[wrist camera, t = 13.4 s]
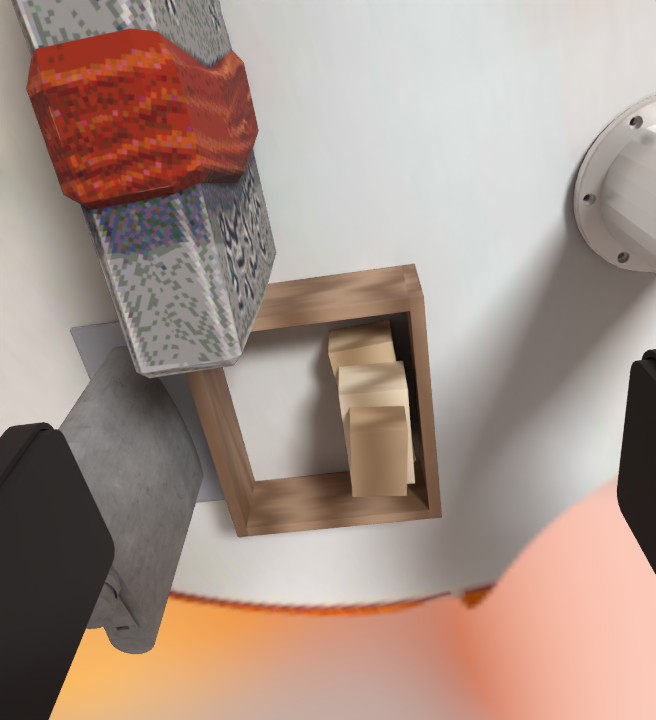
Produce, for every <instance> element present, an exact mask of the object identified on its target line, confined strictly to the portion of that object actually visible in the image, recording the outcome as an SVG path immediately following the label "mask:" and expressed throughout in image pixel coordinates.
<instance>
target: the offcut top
mask: <svg viewBox="0 0 656 720" xmlns="http://www.w3.org/2000/svg"><path fill="white" fill-rule="evenodd" d="M350 443H351V469H352V496H353V497H376V496H407V458H408V427H407V420H406V414H405V407H404V406H382V407H350Z"/></svg>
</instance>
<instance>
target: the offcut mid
mask: <svg viewBox="0 0 656 720" xmlns="http://www.w3.org/2000/svg"><path fill="white" fill-rule="evenodd" d="M339 401H340V408H341V415H342V422H343V428H344V435H345V442H346V449H347V456H348V462H349V469H350V476H351V483H352V469H351V443H350V407H382V406H404V407H405V414H406V420H407V427H408V458H407V484H410V483H415V477H414V464H413V451H412V438H411V426H410V413H409V400H408V388H407V382H406V376H405V370H404V365H403V361H394V362H384V363H375V364H365V365H355V366H345V367H339Z"/></svg>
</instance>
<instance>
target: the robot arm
mask: <svg viewBox="0 0 656 720" xmlns="http://www.w3.org/2000/svg"><path fill="white" fill-rule="evenodd" d="M633 117H634V122H633V123H632V124H630V125H629V123H630V121H631V119H632V118H633ZM587 194H588V197H587V198H586V199H584V200H583V198H584V197H585V196H586V195H587ZM573 203H574V213H575V219H576V222H577V225H578V228H579V231H580V233H581V235H582V236H583V238H584V240H585V241H586V243H587V244H588V245H589V246H590V247H591V248H592V249H593V250H594V252H595V253H597V254H598V255H599V256H600V257H602V258H603V259H604V260H606V261H607V262H609V263H611V264H613V265H615V266H617V267H619V268H623V269H628V270H632V271H643V272H654V273H656V95H655V96H652V97H649V98H647V99H645V100H643V101H642V102H640V103H638V104H636V105H634V106H632V107H631V108H629V109H628V110H626V111H625V112H624V113H623V114H621V115H620V116H619V117H617V118H616V119H615V120H613V122H612V123H611V124H610V125H609V126H608V127H607V128H606V129H605V130H604V131H603V132H602V133H601V134H600V135H599V137H598V138H597V139H596V141H595V142H594V144H593V145H592V147H591V148H590V149H589V151H588V153H587V155H586V157H585V159H584V161H583V163H582V165H581V167H580V170H579V173H578V177H577V180H576V184H575V190H574V200H573ZM620 253H621V255H619V254H620ZM618 255H619V256H618ZM617 499H618V503H619V507H620V510H621V512H622V514H623V516H624V518H625V520H626V522H627V523H628V525H629V527H630V529H631V531H632V532H633V534H634V536H635V538H636V539H637V542H638V543H639V545H640V547H641V549H642V551H643V552H644V554H645V556H646V558H647V559H648V562H649V563H650V565H651V567H652V569H653V571H654V572H655V574H656V349H653V350H648V351H646V352H645V353H644V355H643V357H642V360H639V361H635V362H633V364H632V366H631V370H630V379H629V388H628V396H627V405H626V414H625V423H624V432H623V440H622V449H621V458H620V467H619V475H618V485H617ZM114 555H115V547H114V542H113V539H112V536H111V534H110V532H109V530H108V528H107V526H106V524H105V522H104V519H103V517H102V515H101V513H100V511H99V509H98V507H97V504H96V502H95V500H94V498H93V496H92V494H91V492H90V489H89V487H88V485H87V483H86V481H85V479H84V477H83V475H82V472H81V470H80V468H79V466H78V464H77V462H76V460H75V457H74V455H73V453H72V451H71V449H70V447H69V445H68V442H67V440H66V438H65V436H64V435H63V433H62V432H61V431H60V430H57V429H55V430H54V429H53V427H52V426H51V425H50V424H48V423H45V422H42V423H34V424H26V425H17V426H12V427H9V428H8V429H7V430H6V431H5V432H4V433H3V435H2V436H1V437H0V720H49V717H50V715H51V712H52V710H53V707H54V705H55V703H56V700H57V698H58V695H59V693H60V690H61V688H62V686H63V683H64V681H65V678H66V676H67V673H68V671H69V668H70V666H71V664H72V661H73V659H74V656H75V654H76V651H77V649H78V646H79V644H80V642H81V639H82V637H83V634H84V632H85V629H86V627H87V624H88V622H89V620H90V617H91V615H92V612H93V610H94V607H95V605H96V602H97V600H98V598H99V595H100V593H101V590H102V588H103V585H104V583H105V580H106V578H107V576H108V573H109V571H110V568H111V566H112V563H113V560H114Z"/></svg>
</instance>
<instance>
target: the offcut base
mask: <svg viewBox="0 0 656 720" xmlns="http://www.w3.org/2000/svg"><path fill="white" fill-rule="evenodd" d="M328 355H329V358H330V362H331V366H332V370H333V373H334V377H335V381H336V385H337V388H338V392H339V367H345V366H355V365H365V364H375V363H384V362H394V361H397V358H396V353H395V348H394V343H393V338H392V333H391V328H390V323H389V320H385V321H380V322H375V323H370V324H365V325H360V326H355V327H349V328H344V329H339V330H334V331H329V346H328ZM411 438H412V451H413V461H416V456H415V450H414V444H413V437H412V432H411Z"/></svg>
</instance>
